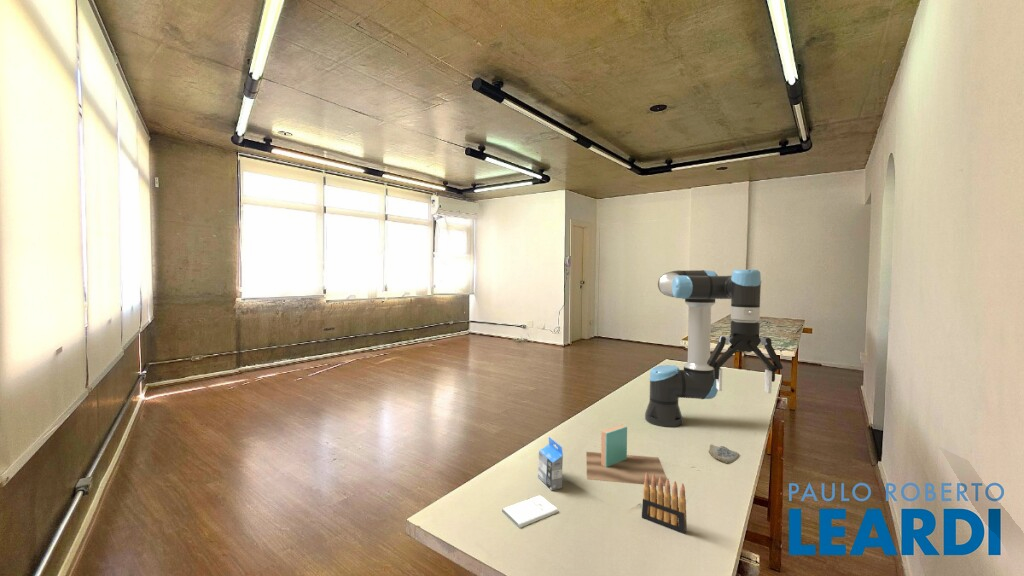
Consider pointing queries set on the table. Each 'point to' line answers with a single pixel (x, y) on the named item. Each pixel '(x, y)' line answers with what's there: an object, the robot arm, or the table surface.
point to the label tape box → (551, 465)
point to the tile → (613, 445)
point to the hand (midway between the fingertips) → (743, 390)
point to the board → (625, 469)
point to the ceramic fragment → (723, 454)
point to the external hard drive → (529, 511)
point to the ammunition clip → (664, 505)
